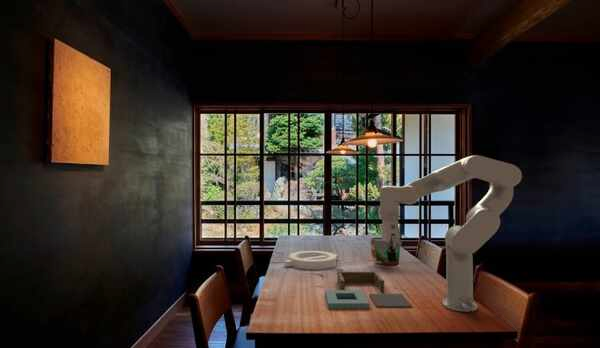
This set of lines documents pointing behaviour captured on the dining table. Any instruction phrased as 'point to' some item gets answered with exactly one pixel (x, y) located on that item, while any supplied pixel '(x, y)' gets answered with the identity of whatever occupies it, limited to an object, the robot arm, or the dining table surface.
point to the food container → (385, 253)
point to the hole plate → (346, 299)
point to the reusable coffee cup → (374, 251)
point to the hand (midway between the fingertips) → (389, 259)
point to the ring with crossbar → (312, 260)
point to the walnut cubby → (360, 279)
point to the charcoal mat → (390, 300)
